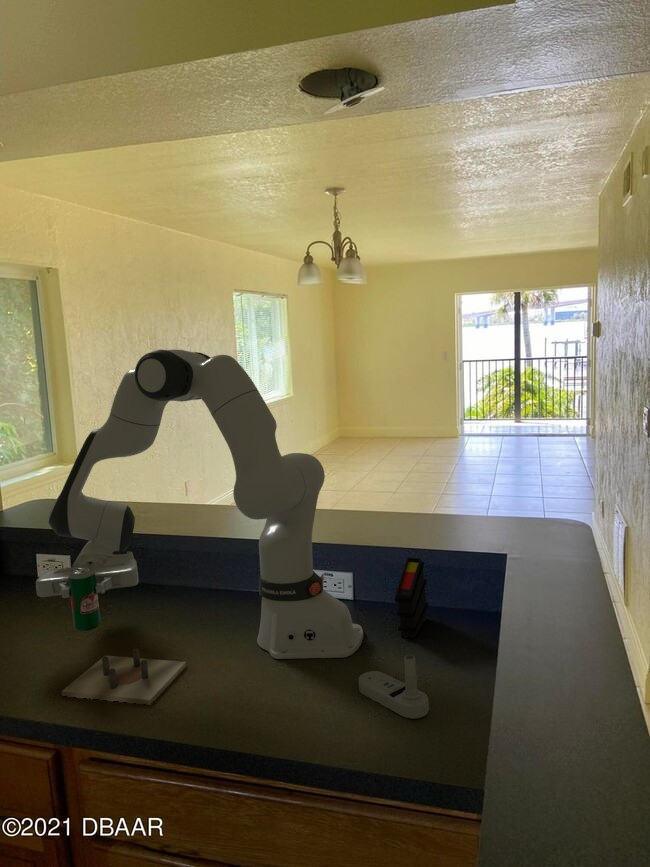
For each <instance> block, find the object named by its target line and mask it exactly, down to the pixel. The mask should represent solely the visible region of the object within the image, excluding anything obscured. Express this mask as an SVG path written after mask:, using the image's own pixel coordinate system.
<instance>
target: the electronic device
mask: <svg viewBox="0 0 650 867" xmlns="http://www.w3.org/2000/svg"><path fill="white" fill-rule="evenodd" d="M415 656H416V655H414V654H405V655H404V658H403V659H404V682H403V681H400V680H398V679H397V678H394V677H392V676H390V675H388V674H386V673H385V672H382V671H377V670H371V671H366V672H364V673H362V674H360V675H359V677H358V688H359V689H358V690H359V692H360V693H361V694H362V695H363V694H364V695H363V696H365V697H367V698H368V697H369V698H368V699H370V698H371V699H370V700H373V702H376V703H377V702H378V704H379V703H380V705H381V706H383V707H385V708H387V709H388V708H389V709H388V710H390V711H392V712H394V713H396V714H397V715H399V716H402V717H403V718H406V719H410V720H411V719H415V720H416V719H420V718H421V719H422V718H423V717H425V716H426V715H428V713H429V710H430V702H429V697H428V696H427V694H426V693H425V692H424V691H421V690H419V689H418V675H417V671H416V670H417V669H416V657H415Z"/></svg>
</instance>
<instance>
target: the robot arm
mask: <svg viewBox="0 0 650 867" xmlns="http://www.w3.org/2000/svg"><path fill="white" fill-rule="evenodd" d="M197 400H202V402H203V403H204V404H205V406H206V408H207V409H208V411H209V413H210V415H211V417H212V418H213V421H214V423H216V425H217V427H218V429H219V431H220V433H221V435H222V437H223V438H224V441H225V443H226V444H227V446H228V448H229V451H230V453H231V454H230V455H231V457H232V461H233V465H234V471H235V483H234V486H233V491H232V492H233V493H232V494H233V500H234V504H235V505H236V507H237V509H238V510H239V511H240V513H241V514H243V515H244V516H245V517H246V518H249V519H252V520H255V521H256V520H258V521H259V520H266V521H265V524H264V527H263V530H262V531H261V533H260V536H259V539H258V552H259V554H258V556H259V568H260V569H259V570H260V575H259V576H258V594H259V600H260V602H261V612H260V623H259V630H258V635H257V640H256V642H257V644H258V646H259V647H260V649H261V648H262V649H263V650H265V651H267V652H268V653H269V654H270V656H271V657H272V658H273V659H277V660H278V659H280V660H281V659H282V660H285V659H288V660H289V659H291V660H292V659H327V658H328V659H333V658H348V657H350V656H352V655H353V654H355V652H356V651H357V650H359V648H360V647H361V645H362V643H363V641H362V640H364V630H363V627H362V626H361V625H360V624H358V623H354V622H353V619H352V616H351V612H350V610H349V607H348V606H347V605H346V604H345V603H344V602H342V601H341V600H339V599H337V598H336V597H335V596H333V595H332V594H331V593H329V592H328V591H326V590H325V589H324V580H325V575H324V573H322V574H321V576H320V575H319V574H318V573H316V572H315V571H314V565H313V564H314V561H313V541H312V540H313V528H314V523H315V518H316V517H315V516H316V512H317V510H316V509H317V505H318V504H317V503H318V498H319V495H320V491H321V490H322V487H323V486H324V483H325V470H324V467H323V465H322V463H321V461H319V459H318V458H317V457H316V456H314V455H312V454H309V453H304V452H303V453H301V452H292V453H286V454H284V455H282V454H281V452H280V449H279V447H278V443H277V439H276V438H277V437H276V431H277V428H278V427H277V426H278V424H277V421H276V419H275V416H274V415H273V414H272V411H271V410H270V408H269V407H268V405H267V403H266V402H265V400H264V398H263V396H262V395H261V393H260V391H259V389H258V388H257V386H256V385H255V383H254V381H253V380H252V378H251V377H250V376H249V374H248V372H247V371H246V370H245V369H244V367H243V366H242V365H241V364H240V363H239V362H238V361H237V360H236V359H235V358H234V357H232V356H230V355H228V354H217V355H215V356H212V357H210V356H209V355H208V354H205V353H203V352H197V351H196V352H195V351H189V350H184V349H156V350H151V351H150V352H147V353H145V354H144V355H142V356H141V357H140V359H139V360H138V361H137V363H136V365H135V367H134V368H132V369H130V370H127V372H125V374H124V376H123V377H122V379H121V381H120V382H119V385H118V388H117V391H116V392H115V395H114V398H113V401H112V405H111V408H110V413H109V416H108V418H107V419H106V421H105V423H103V425H102V426H101V427H100V428H96V429H95V428H94V429H93V430H92V431H90V433H89V434H88V436H86V438H85V440H84V442H83V444H82V446H81V447H80V451H79V452H78V454H77V457H76V459H75V460H74V462H73V465H72V467H71V469H70V472H69V474H68V476H67V479H66V481H65V482H64V485H63V487H62V489H61V492H59V493H60V494H59V495H58V497H57V498H56V499H55V501H54V502H53V504H52V506H51V508H50V511H49V514H48V524H49V526H50V528H51V529H52V530H53V532H54V533H55V534H56V535H57V536H59V537H68V538H77V539H81V540H86V541H88V542H87V543H86V544H85V545H84V546H83V548H82V549H81V551H80V552H79V554H78V556H77V557H76V559H75V561H74V562H73V564H72V567H63V568H58V569H57V568H56V569H55V568H54V569H50V570H47V571H45V572H44V573H42V574H40V576H39V577H38V578H37V579H36V581H35V590H36V594H37V596H38V597H40V598H46V597H54V596H61V597H62V599H68V598H71V597H70V588H69V580H68V577H69V575H70V571H71V570H73V569H75V568H78V567H86V566H87V567H92V568H93V571H94V572H95V577H96V594H97V595H100V594H105V592H107V591H108V590H112V589H119V588H128V587H134V586H137V585H138V584H139V571H138V565H137V560H136V559H135V557H134V554H133V552H132V551H129V550H128V548H129V545H130V542H131V539H132V538H133V533H134V529H135V523H136V518H135V516H134V515H135V514H134V513H133V510H132V509H131V507H130V506H129V505H127V504H124V503H121V502H120V503H119V502H116V501H111V500H105V499H100V498H96V497H91V496H87V495H85V494H83V489H84V487H85V485H86V483H87V480H88V478H89V476H90V474H91V472H92V469H93V467H94V466H95V465H96V464H97V463H98V462H101V461H105V460H109V459H115V458H117V459H118V458H126V457H132V456H136V455H138V454H141V453H144V452H146V451H147V450H149V449H150V447H151V446H153V444H154V442H155V440H156V438H157V435H158V432H159V429H160V426H161V422H162V417H163V414H164V411H165V408H166V405H168V403H169V402H181V403H183V402H189V401H197ZM127 550H128V551H127Z"/></svg>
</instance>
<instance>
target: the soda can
mask: <svg viewBox="0 0 650 867" xmlns="http://www.w3.org/2000/svg"><path fill="white" fill-rule="evenodd" d="M68 580H69V588H70V597H69V598H70V603H71V604H70V605H71V612H72V619H73V620H72V621H73V627H74V629H75V630H77V631H78V632H88V631H92V630H94V629H96V628H98V627H99V626H100V624H101V613H100V606H99V605H100V604H99V594H96V577H95V572H94V571H93V568H92V567H87V566H86V567H78V568H75V569H73V570H71V571H70V575H69V577H68Z"/></svg>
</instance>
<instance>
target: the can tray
mask: <svg viewBox="0 0 650 867" xmlns="http://www.w3.org/2000/svg"><path fill="white" fill-rule="evenodd" d="M140 657H141V656H140V650H139V647H138V648H137V647H135V648H133V649H132V657H129V656H116V655H115V656H114V655H104V656H103V657H101V658H100V659H99V660H98V661H96V662H95V663H94V664H93V665H92V666H90V667H89V668H88V669H87V670H86V671H84V672H83V673H82V674H81V675H80V676H78V677H77V678H76V679H74V681H72V682H70V683H69V685H68V686H66V687H65V688H63V690H61V696H62V697H63V696H67V697H66V698H73V697H76V699H83V698H87V699H86V700H93V699H99V700H98V701H103V700H107V701H106V702H113V701H119V702H118V703H123V702H127V703H126V704H133V703H136V704H135V705H143V704H146V705H145V706H151V705H152V704H153V703H154V702H155V701H156V700H157V699H158V698H159V697H160V695H162V693H163V692H164V691H165V690H166V689H167V688H168V687H169V686H170V684H172V683H173V682H174V681H175V680H176V679H177V677H178V676H179V675H180V674H181V673H182V672H183V671H184V670H185V669H186V668H187V662H186V661H176V660H166V659H165V660H164V659H153V658H140ZM89 698H90V699H89ZM153 701H154V702H153ZM151 703H152V704H151Z"/></svg>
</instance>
